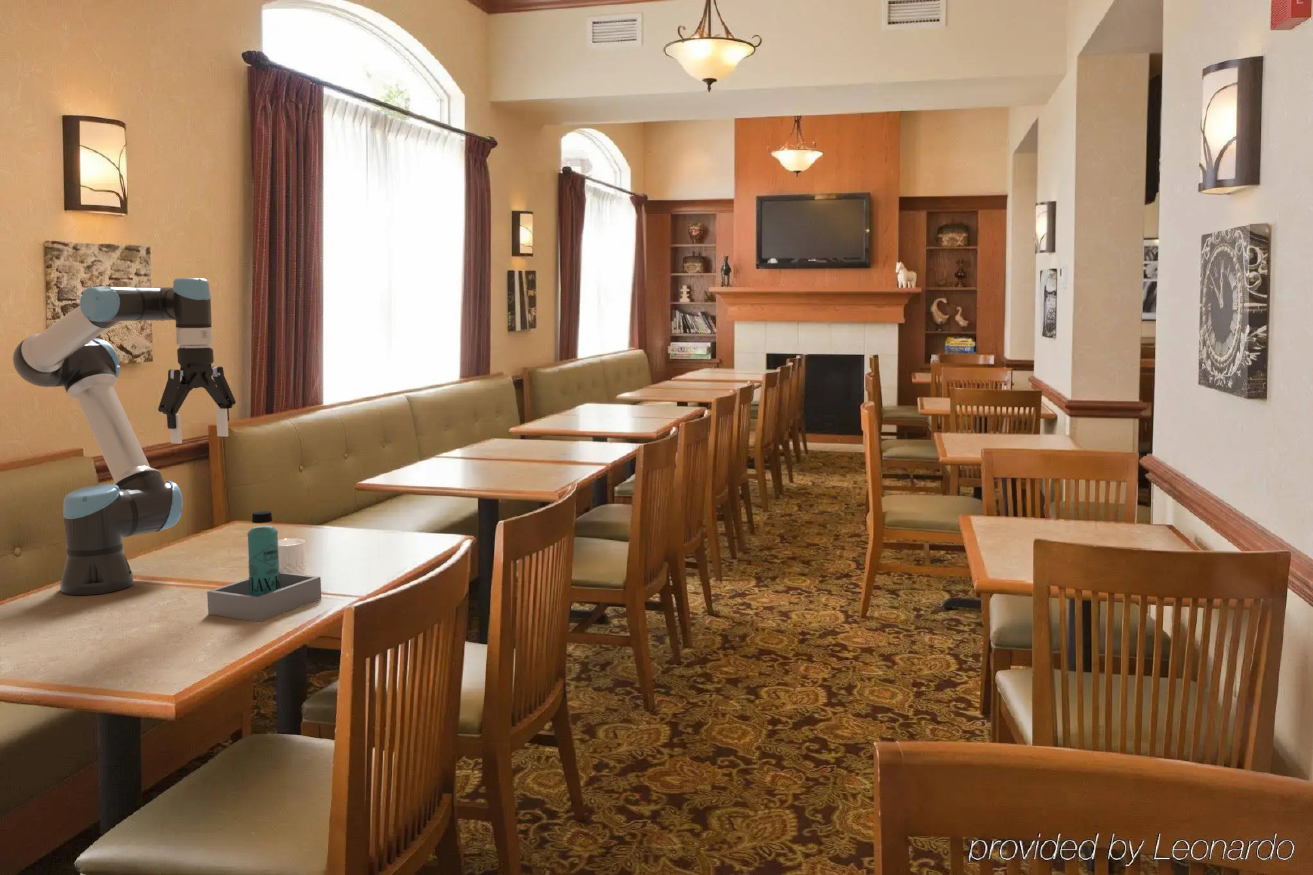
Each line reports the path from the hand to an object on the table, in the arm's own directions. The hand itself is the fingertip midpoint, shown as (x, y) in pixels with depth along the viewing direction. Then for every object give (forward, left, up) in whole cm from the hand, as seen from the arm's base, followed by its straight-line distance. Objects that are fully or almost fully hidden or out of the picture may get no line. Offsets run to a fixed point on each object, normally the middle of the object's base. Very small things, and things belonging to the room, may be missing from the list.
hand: (200, 439), depth 244 cm
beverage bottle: (+24, -7, -34) cm, 42 cm away
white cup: (+15, +10, -35) cm, 39 cm away
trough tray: (+24, -7, -35) cm, 43 cm away
